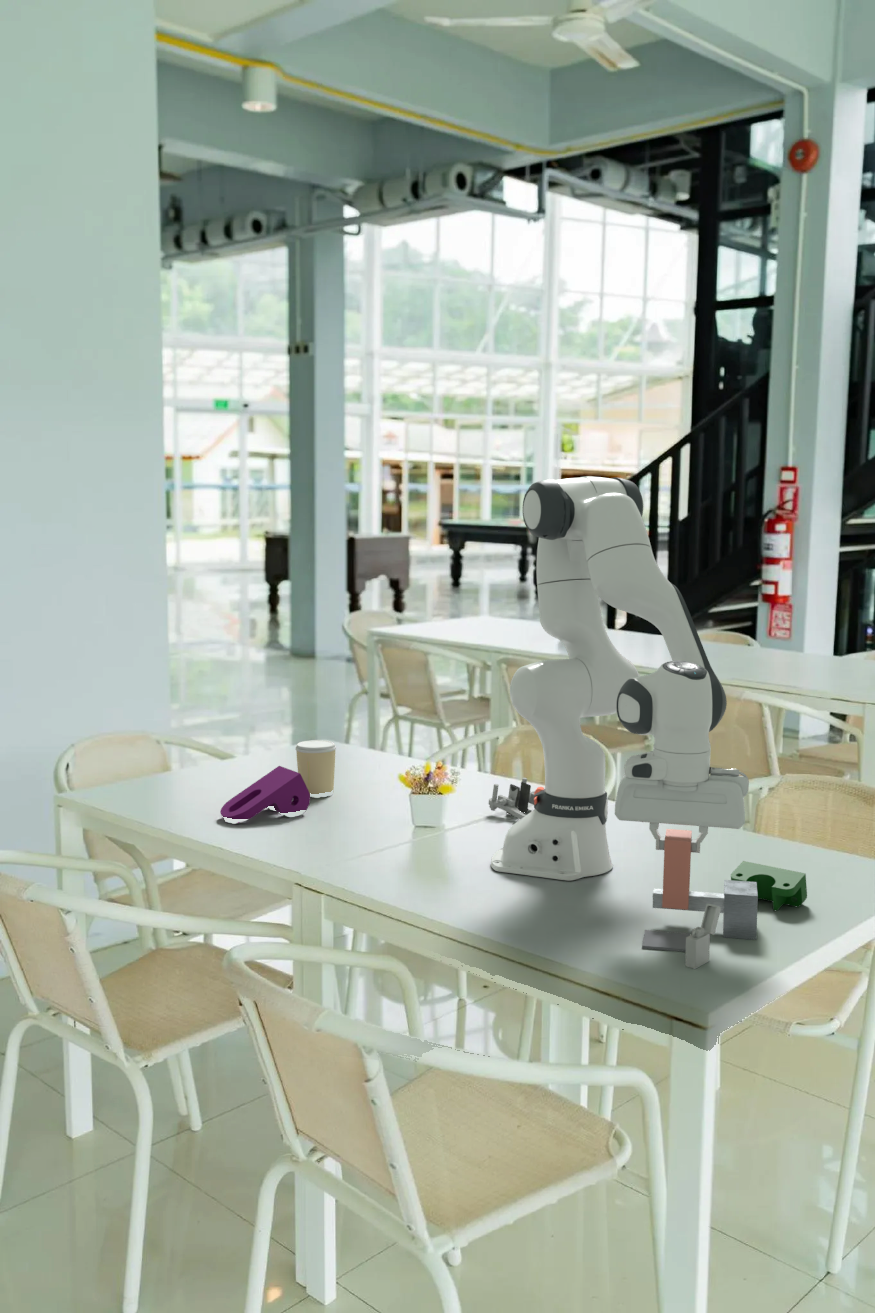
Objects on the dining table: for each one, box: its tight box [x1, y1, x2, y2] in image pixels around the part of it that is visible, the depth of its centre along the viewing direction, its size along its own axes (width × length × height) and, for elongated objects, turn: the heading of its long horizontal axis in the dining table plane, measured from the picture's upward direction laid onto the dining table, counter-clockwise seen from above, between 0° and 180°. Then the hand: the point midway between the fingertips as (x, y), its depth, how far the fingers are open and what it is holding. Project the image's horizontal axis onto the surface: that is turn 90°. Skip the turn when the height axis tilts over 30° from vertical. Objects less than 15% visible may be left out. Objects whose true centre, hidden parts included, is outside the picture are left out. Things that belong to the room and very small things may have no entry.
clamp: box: [730, 860, 808, 912], centre depth 200 cm, size 12×6×9 cm, turn 44°
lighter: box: [684, 904, 721, 969], centre depth 175 cm, size 7×2×8 cm, turn 137°
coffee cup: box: [295, 739, 337, 794], centre depth 276 cm, size 9×9×12 cm
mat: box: [641, 929, 691, 953], centre depth 183 cm, size 7×7×1 cm
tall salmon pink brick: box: [661, 828, 693, 911], centre depth 189 cm, size 4×6×11 cm, turn 167°
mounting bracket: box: [220, 765, 311, 820], centre depth 258 cm, size 10×8×18 cm
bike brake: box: [488, 777, 535, 820], centre depth 255 cm, size 14×7×20 cm
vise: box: [652, 879, 759, 941], centre depth 189 cm, size 16×7×7 cm, turn 77°
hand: (677, 850), depth 189 cm, fingers closed on tall salmon pink brick, 4 cm apart
